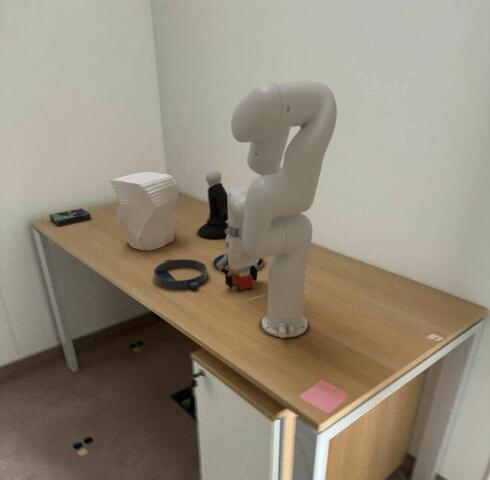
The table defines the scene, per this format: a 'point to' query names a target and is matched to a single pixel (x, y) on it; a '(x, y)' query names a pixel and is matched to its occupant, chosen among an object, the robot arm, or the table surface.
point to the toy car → (242, 278)
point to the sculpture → (215, 208)
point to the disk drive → (70, 217)
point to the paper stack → (147, 208)
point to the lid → (226, 265)
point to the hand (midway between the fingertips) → (241, 282)
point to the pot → (170, 282)
